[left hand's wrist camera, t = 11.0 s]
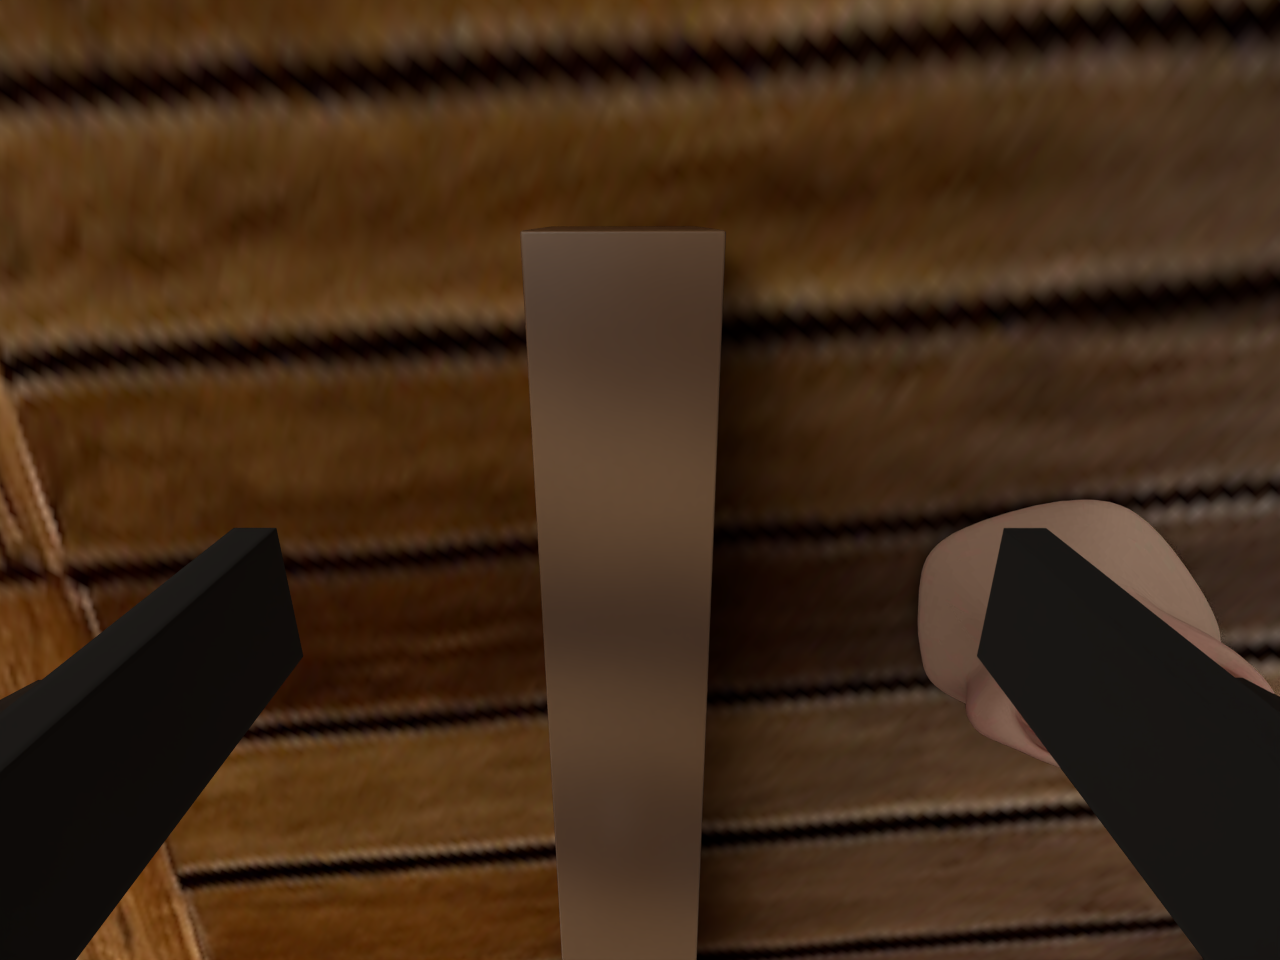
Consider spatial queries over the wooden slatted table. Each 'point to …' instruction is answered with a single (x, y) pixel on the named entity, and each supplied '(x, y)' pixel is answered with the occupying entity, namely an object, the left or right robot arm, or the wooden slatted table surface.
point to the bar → (625, 567)
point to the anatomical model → (1098, 535)
